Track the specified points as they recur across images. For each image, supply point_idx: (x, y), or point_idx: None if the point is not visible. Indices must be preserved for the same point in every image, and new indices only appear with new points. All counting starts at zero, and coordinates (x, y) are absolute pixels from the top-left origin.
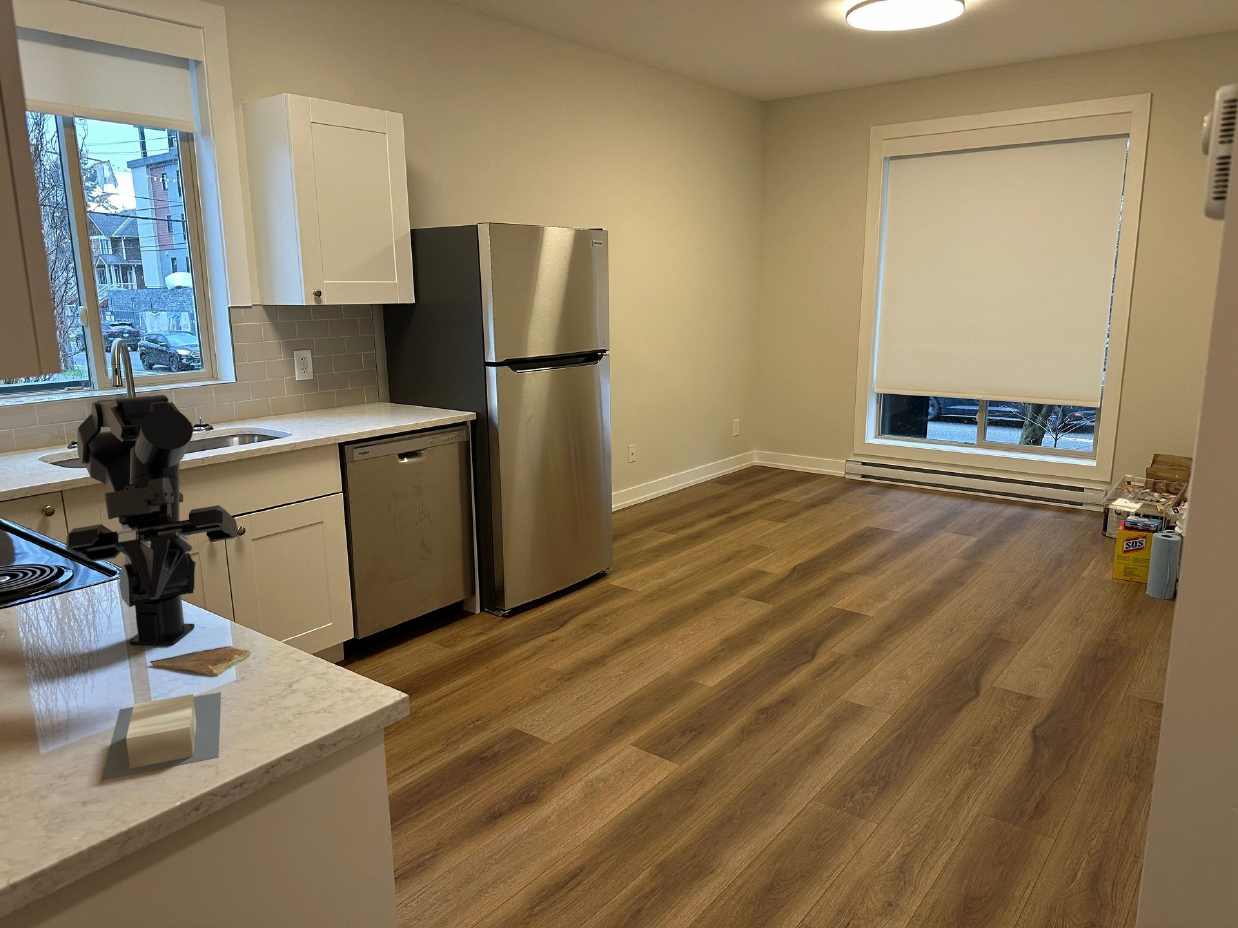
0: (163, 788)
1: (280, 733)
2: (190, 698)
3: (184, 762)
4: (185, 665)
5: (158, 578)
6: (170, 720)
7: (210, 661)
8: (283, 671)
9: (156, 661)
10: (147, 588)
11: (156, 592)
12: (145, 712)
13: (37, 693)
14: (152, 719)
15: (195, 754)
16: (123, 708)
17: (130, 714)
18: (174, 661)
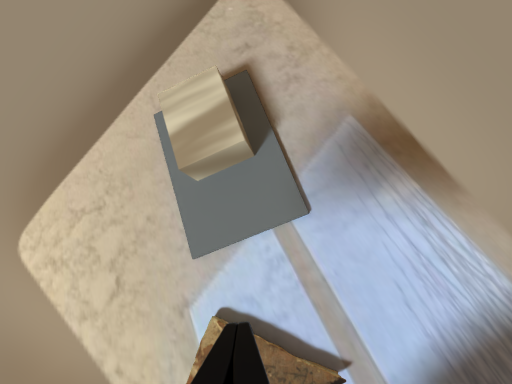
0: (189, 72)
1: (112, 166)
2: (177, 157)
3: None
4: (269, 348)
5: (194, 378)
6: (182, 104)
7: None
8: (133, 331)
9: (333, 380)
10: (247, 344)
11: (220, 333)
12: (220, 120)
13: (498, 283)
14: (204, 105)
15: None
16: (304, 214)
17: (285, 197)
18: (297, 371)
